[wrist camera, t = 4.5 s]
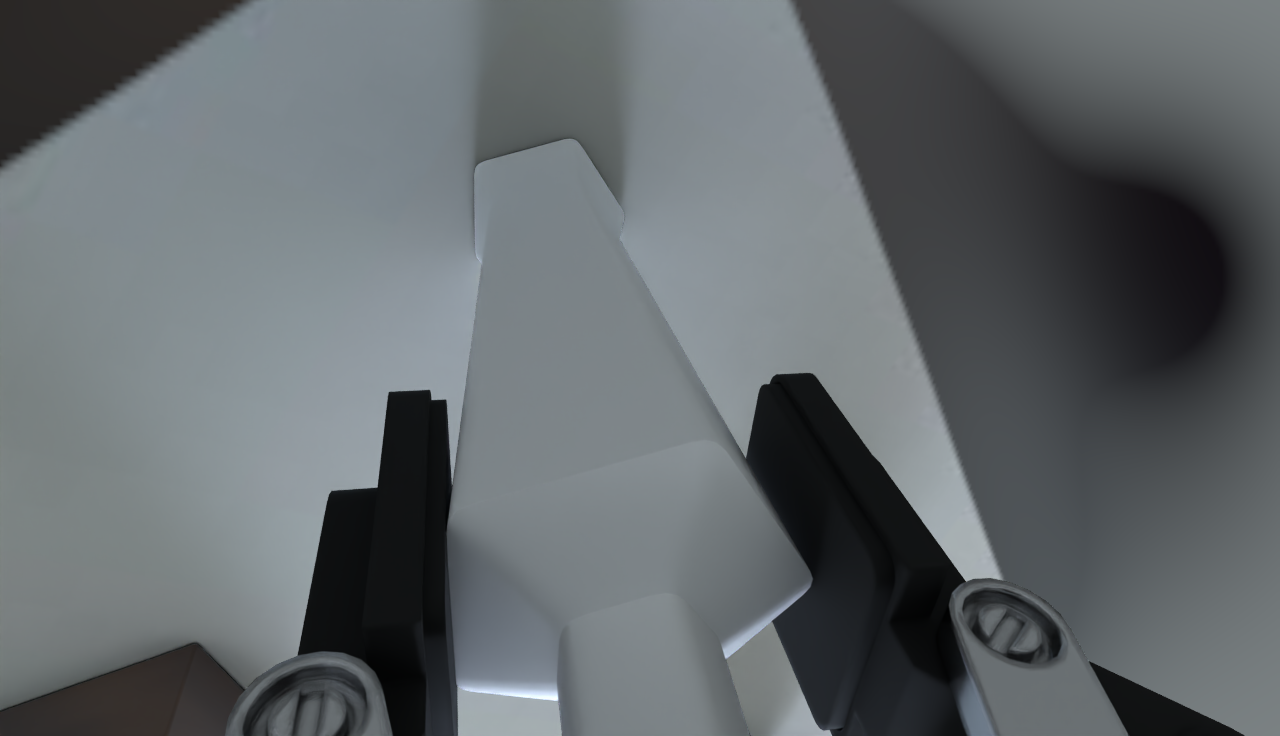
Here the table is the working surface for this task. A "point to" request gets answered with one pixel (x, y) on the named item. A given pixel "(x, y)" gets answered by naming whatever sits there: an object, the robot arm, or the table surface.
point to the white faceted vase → (597, 479)
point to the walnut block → (135, 701)
